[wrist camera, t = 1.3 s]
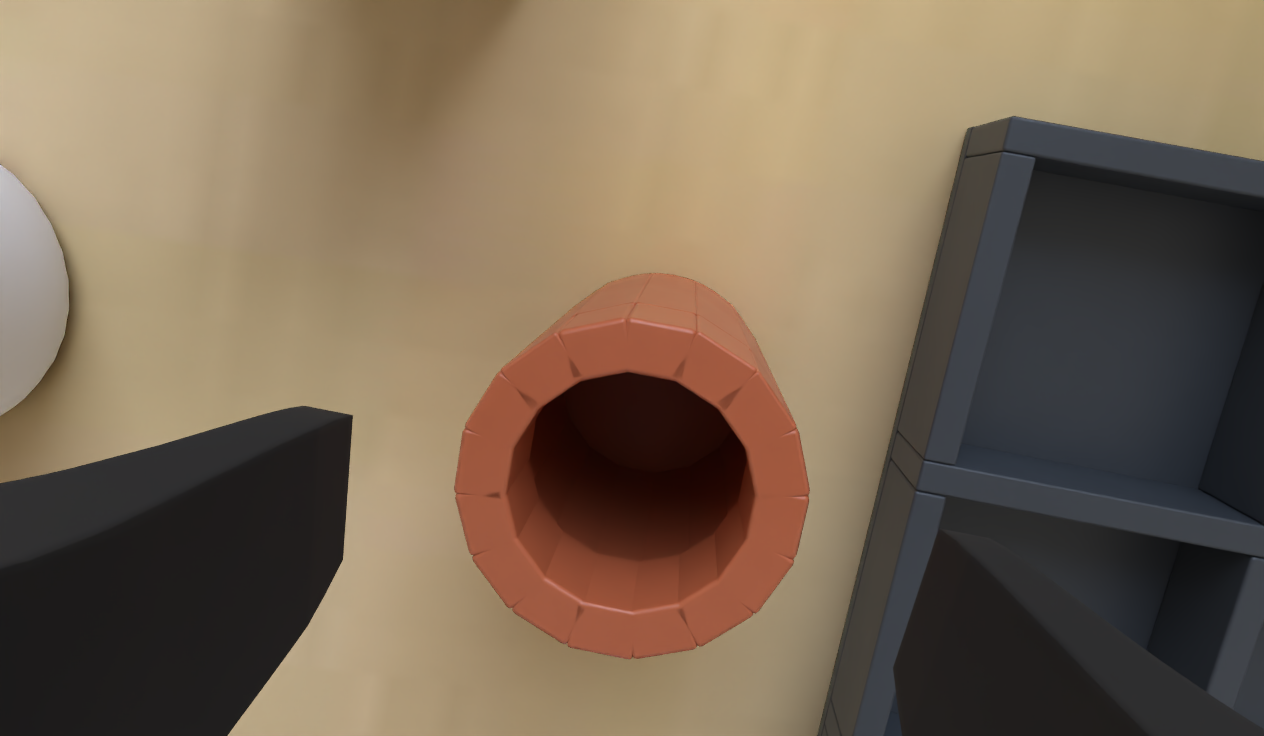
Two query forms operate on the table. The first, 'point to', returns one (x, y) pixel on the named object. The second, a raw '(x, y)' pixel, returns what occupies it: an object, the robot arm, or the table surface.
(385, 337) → the table surface
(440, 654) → the table surface
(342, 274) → the table surface
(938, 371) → the tray
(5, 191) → the milk bottle
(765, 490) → the jar
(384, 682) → the table surface
